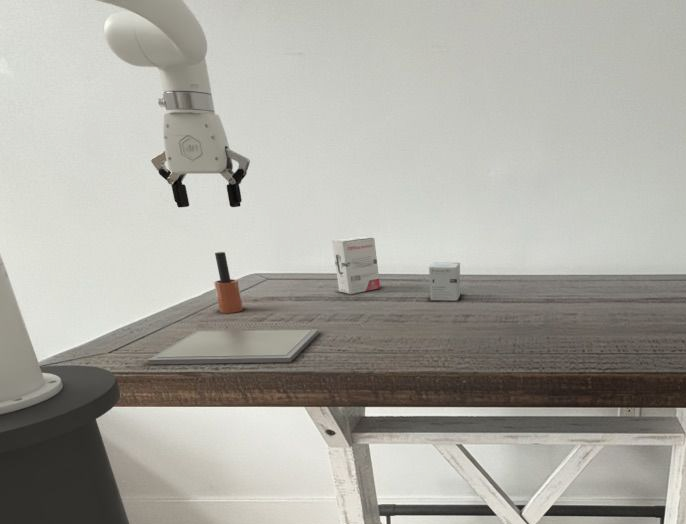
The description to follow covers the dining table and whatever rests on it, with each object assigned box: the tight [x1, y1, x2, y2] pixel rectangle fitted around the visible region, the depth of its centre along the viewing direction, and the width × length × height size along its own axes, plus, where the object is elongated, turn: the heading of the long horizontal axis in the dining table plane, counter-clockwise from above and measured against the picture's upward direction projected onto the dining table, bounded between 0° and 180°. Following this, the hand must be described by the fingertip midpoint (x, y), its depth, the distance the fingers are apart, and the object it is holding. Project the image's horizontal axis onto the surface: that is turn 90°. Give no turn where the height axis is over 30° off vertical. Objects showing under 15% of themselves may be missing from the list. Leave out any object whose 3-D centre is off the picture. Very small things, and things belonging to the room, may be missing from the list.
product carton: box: [428, 261, 461, 302], centre depth 121 cm, size 6×6×7 cm
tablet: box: [147, 328, 320, 365], centre depth 90 cm, size 15×21×1 cm
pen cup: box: [213, 278, 244, 314], centre depth 112 cm, size 4×4×6 cm
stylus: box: [214, 251, 231, 283], centre depth 111 cm, size 2×2×11 cm
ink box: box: [331, 236, 381, 295], centre depth 128 cm, size 9×5×12 cm, turn 139°
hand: (209, 206), depth 105 cm, fingers open, 9 cm apart
